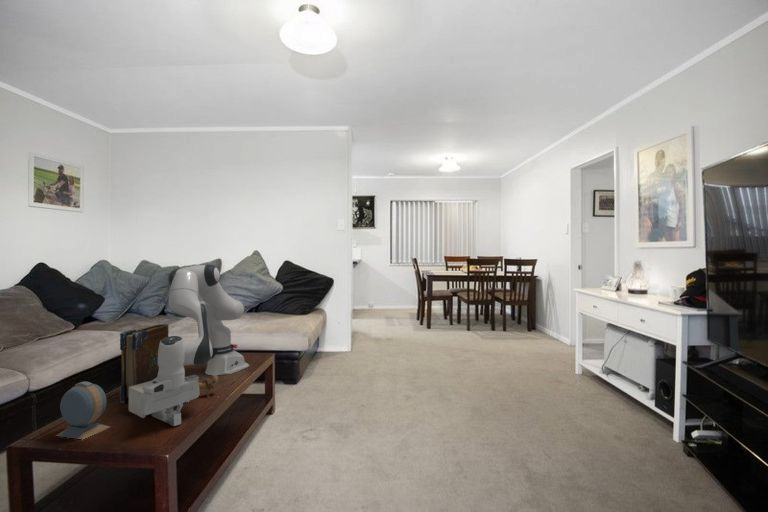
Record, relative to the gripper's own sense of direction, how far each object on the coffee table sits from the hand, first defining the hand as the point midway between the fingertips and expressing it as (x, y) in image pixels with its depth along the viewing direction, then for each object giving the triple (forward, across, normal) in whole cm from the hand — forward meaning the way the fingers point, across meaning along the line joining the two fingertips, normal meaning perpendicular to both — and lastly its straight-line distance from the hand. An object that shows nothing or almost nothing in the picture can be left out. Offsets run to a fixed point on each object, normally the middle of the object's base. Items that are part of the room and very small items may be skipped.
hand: (171, 417), depth 134 cm
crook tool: (+2, -3, -4) cm, 5 cm away
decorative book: (+2, -10, -41) cm, 42 cm away
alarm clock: (+2, +20, -20) cm, 29 cm away
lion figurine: (+2, -21, -16) cm, 26 cm away
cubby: (+2, -5, -20) cm, 21 cm away
